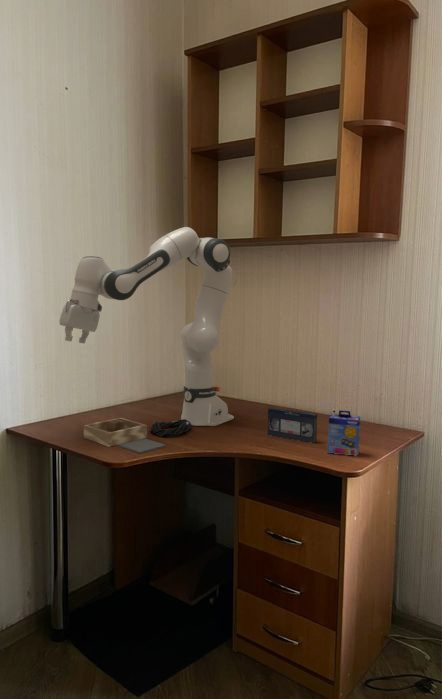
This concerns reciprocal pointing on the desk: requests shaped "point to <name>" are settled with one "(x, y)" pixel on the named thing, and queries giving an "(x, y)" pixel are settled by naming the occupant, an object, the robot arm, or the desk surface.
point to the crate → (115, 433)
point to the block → (114, 425)
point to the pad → (142, 445)
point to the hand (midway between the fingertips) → (75, 342)
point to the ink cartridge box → (343, 434)
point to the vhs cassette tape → (292, 424)
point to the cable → (180, 427)
